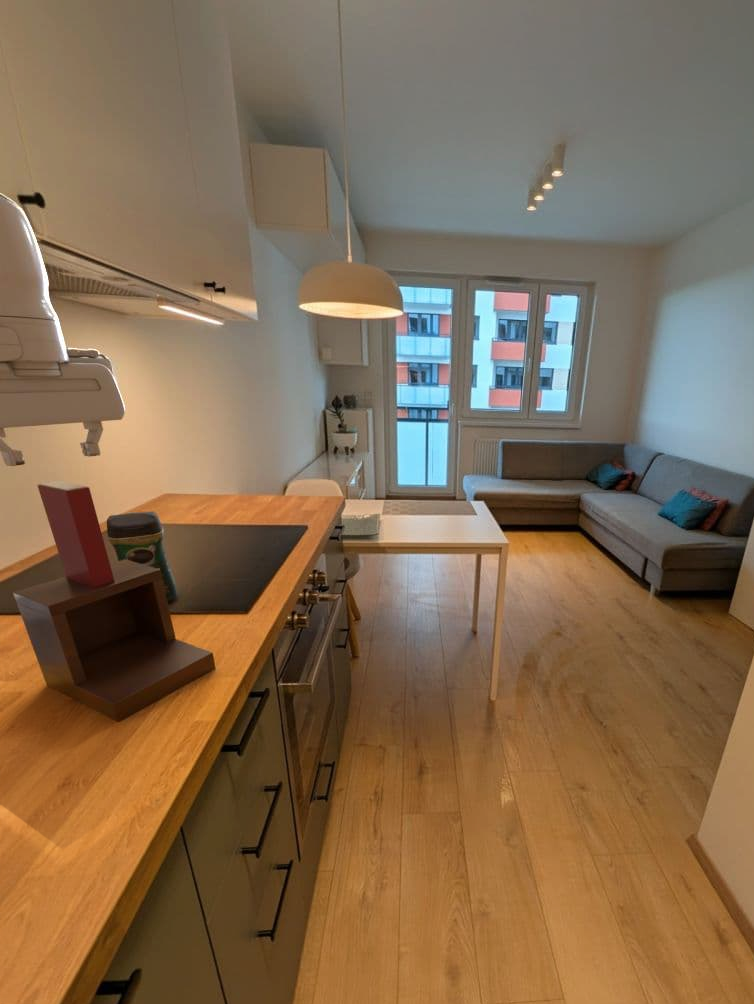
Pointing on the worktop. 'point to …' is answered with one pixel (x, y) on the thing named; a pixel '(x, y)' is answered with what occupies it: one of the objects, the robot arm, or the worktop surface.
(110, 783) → the worktop surface
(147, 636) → the shelf
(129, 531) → the coffee jar
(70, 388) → the robot arm
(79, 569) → the book
